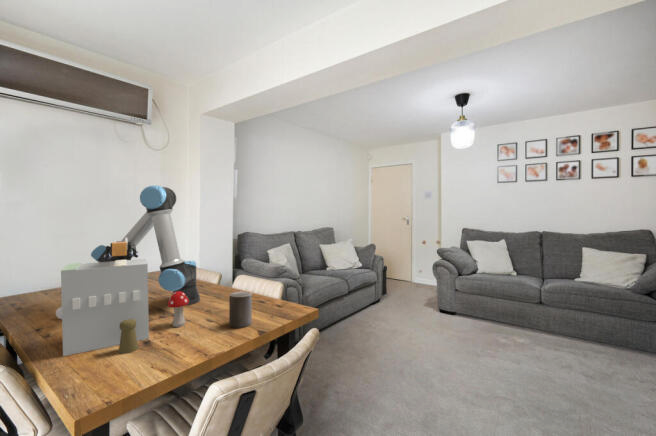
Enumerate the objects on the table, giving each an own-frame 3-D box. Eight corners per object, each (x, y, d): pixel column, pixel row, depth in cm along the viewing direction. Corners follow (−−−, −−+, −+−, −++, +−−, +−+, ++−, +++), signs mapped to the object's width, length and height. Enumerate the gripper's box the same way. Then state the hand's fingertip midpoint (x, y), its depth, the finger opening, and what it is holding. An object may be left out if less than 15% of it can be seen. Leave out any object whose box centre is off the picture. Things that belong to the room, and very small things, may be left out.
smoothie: (83, 309, 153) (71, 316, 140) (70, 316, 151) (56, 325, 138) (76, 298, 152) (62, 305, 139) (62, 306, 150) (47, 313, 137)
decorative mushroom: (169, 322, 138) (168, 289, 137) (189, 319, 141) (189, 287, 141) (166, 330, 129) (166, 295, 128) (189, 327, 132) (188, 293, 132)
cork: (124, 346, 113) (124, 317, 113) (141, 345, 114) (141, 316, 114) (114, 354, 107) (114, 323, 107) (132, 353, 108) (131, 322, 108)
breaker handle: (114, 249, 135) (114, 238, 135) (127, 248, 137) (127, 238, 137) (112, 256, 113) (111, 243, 113) (126, 255, 116) (126, 242, 116)
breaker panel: (70, 340, 119) (68, 264, 119) (146, 326, 134) (145, 258, 133) (62, 357, 105) (60, 270, 105) (149, 339, 120) (147, 263, 119)
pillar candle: (231, 329, 129) (231, 295, 128) (227, 322, 137) (227, 289, 137) (254, 326, 133) (254, 292, 133) (249, 319, 142) (249, 287, 142)
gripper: (100, 255, 143) (96, 233, 126) (141, 252, 152) (142, 232, 135) (100, 270, 140) (95, 250, 123) (142, 266, 149) (143, 247, 132)
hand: (120, 240), depth 129 cm, fingers closed on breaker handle, 3 cm apart
